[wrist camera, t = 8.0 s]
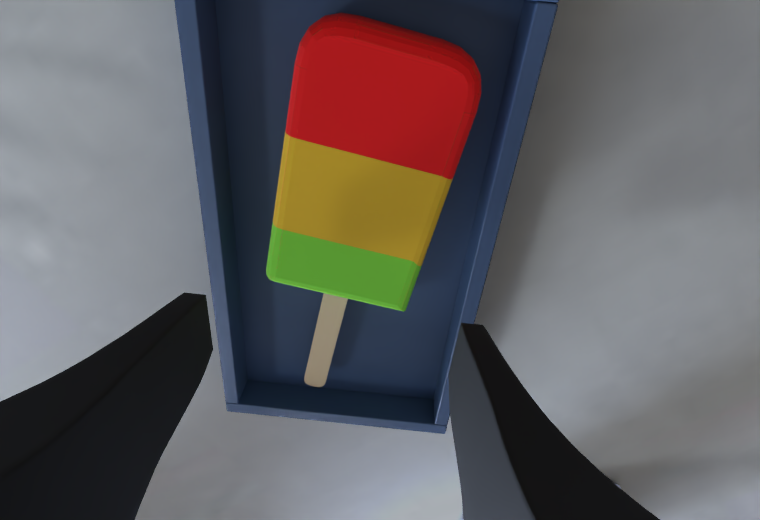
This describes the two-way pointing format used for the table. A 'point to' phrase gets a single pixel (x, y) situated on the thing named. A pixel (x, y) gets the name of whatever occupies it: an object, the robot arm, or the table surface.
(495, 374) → the robot arm
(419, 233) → the popsicle
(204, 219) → the tray
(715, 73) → the table surface
